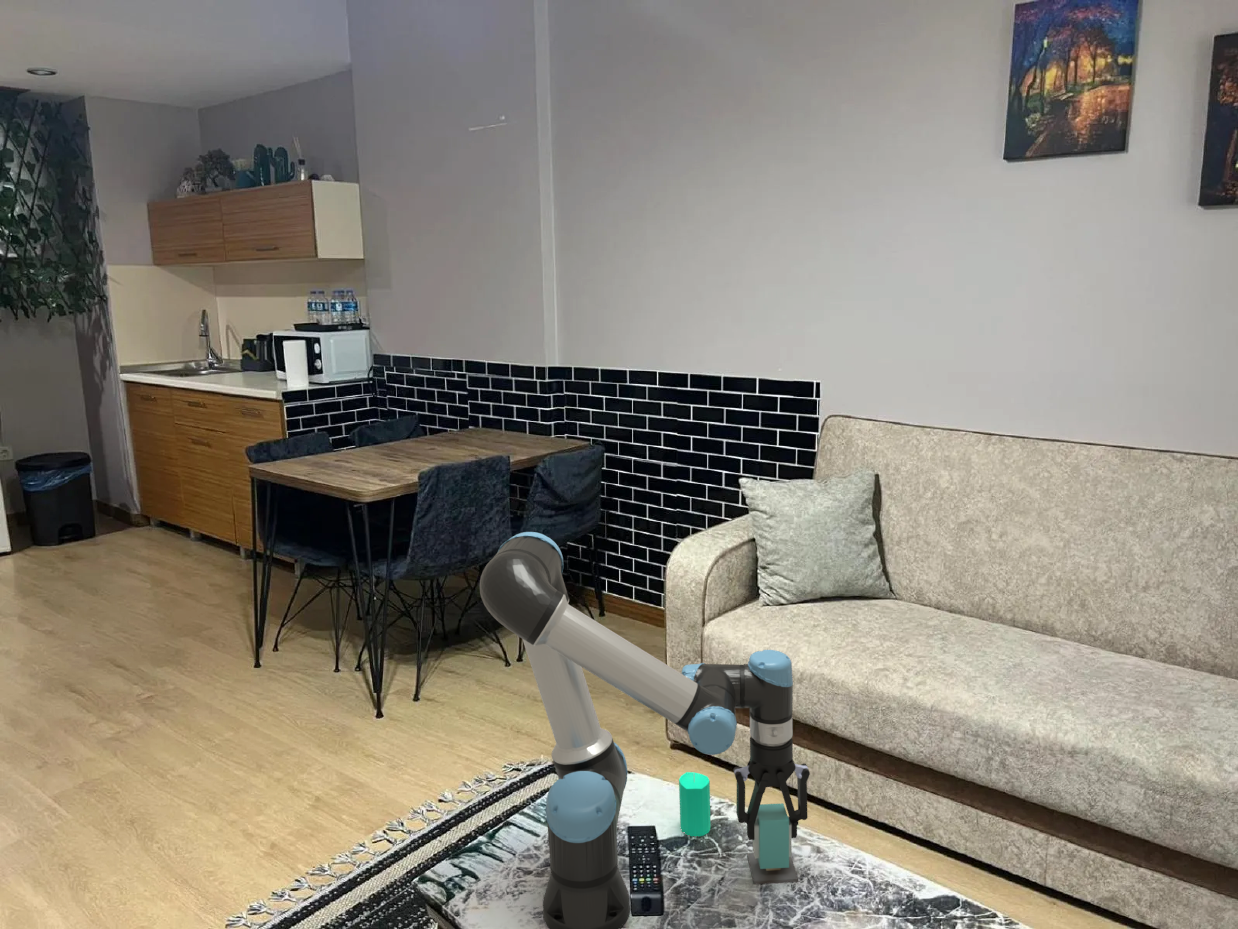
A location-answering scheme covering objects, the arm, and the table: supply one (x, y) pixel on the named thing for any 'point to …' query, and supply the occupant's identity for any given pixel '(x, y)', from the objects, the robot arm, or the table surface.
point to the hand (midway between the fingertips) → (771, 853)
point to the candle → (694, 804)
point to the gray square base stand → (771, 872)
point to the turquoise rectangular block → (773, 836)
